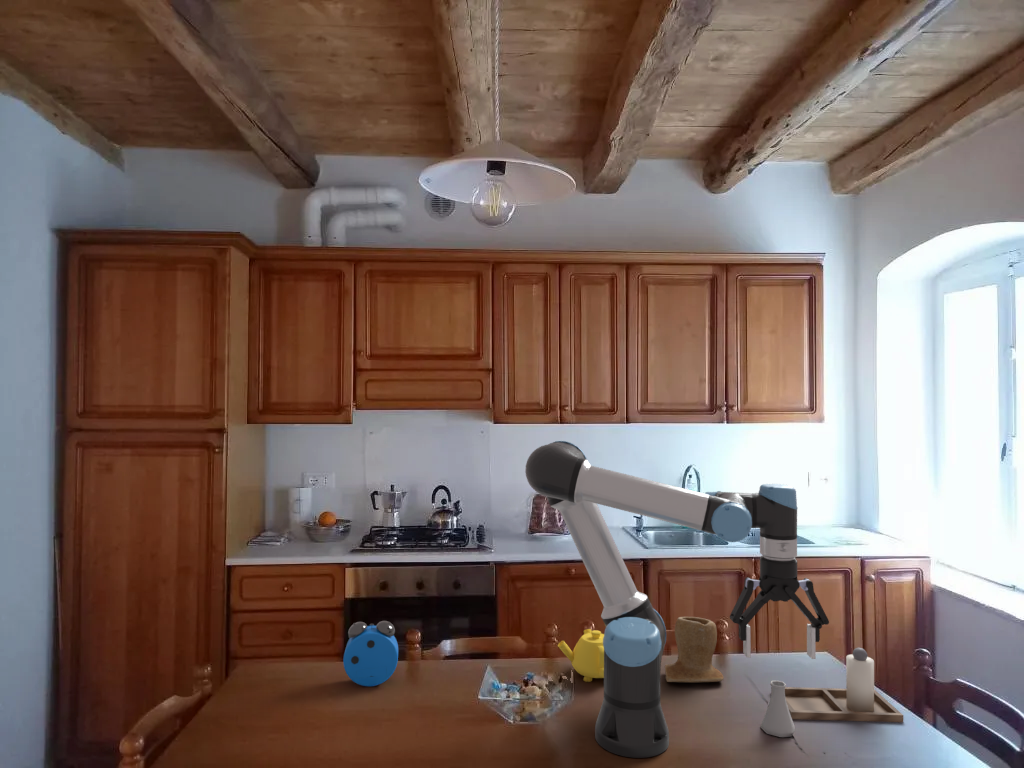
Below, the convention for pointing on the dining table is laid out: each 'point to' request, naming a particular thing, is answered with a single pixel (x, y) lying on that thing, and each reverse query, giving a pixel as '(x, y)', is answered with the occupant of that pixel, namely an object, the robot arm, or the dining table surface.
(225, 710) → the dining table surface
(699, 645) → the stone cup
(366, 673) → the alarm clock
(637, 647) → the robot arm
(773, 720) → the flask
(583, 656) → the teapot
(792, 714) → the tray
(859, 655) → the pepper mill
